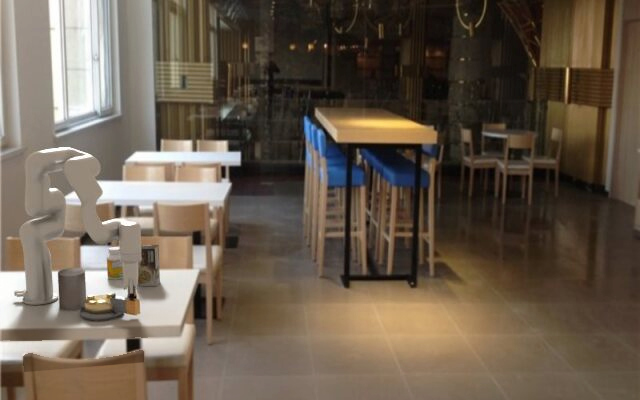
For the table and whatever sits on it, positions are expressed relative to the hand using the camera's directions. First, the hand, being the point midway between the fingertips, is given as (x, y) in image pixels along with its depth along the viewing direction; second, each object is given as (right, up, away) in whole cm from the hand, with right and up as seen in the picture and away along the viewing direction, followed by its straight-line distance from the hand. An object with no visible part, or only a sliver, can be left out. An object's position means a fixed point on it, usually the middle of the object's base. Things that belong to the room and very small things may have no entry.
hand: (132, 305), depth 257 cm
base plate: (-11, -3, +2) cm, 12 cm away
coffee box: (-4, +3, +38) cm, 38 cm away
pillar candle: (-25, -2, +10) cm, 27 cm away
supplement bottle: (-19, +5, +46) cm, 50 cm away
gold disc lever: (-7, -2, -1) cm, 7 cm away
